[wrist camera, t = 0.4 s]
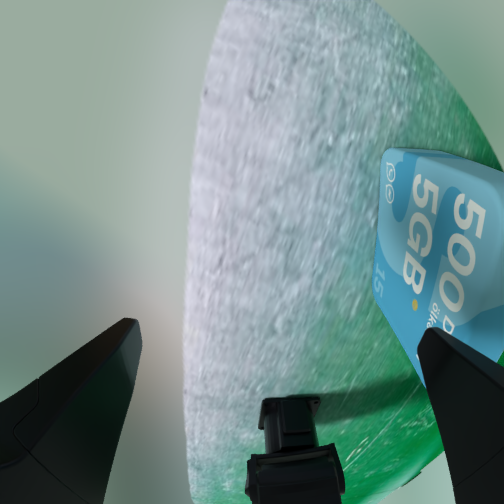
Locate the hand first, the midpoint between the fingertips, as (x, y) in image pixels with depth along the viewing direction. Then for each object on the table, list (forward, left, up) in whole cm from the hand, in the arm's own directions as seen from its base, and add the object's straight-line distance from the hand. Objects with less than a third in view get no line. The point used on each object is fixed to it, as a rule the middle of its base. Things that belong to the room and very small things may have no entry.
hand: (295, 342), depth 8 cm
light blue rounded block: (-1, -11, -13) cm, 17 cm away
